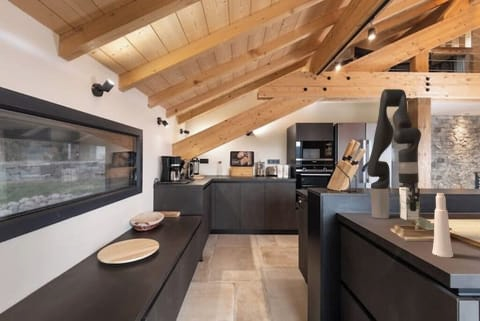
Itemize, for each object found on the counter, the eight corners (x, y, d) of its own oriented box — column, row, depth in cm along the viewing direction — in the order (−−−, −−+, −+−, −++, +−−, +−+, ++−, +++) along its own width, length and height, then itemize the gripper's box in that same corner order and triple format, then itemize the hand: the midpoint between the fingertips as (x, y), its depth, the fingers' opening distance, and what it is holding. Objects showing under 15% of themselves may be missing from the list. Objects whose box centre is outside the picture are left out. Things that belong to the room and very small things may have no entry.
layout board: (390, 230, 127) (389, 223, 127) (428, 230, 124) (428, 223, 124) (406, 240, 110) (406, 232, 110) (451, 241, 108) (451, 233, 108)
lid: (416, 224, 121) (415, 216, 121) (438, 224, 120) (438, 217, 120) (427, 230, 112) (427, 221, 112) (452, 230, 111) (451, 221, 111)
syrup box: (413, 217, 120) (411, 186, 120) (420, 220, 114) (419, 187, 114) (399, 218, 121) (398, 186, 121) (406, 220, 115) (405, 187, 115)
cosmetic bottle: (442, 251, 97) (439, 192, 97) (458, 256, 91) (455, 194, 91) (427, 252, 96) (425, 192, 96) (443, 258, 90) (440, 194, 90)
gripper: (426, 172, 110) (427, 212, 110) (409, 171, 124) (410, 206, 124) (406, 173, 111) (408, 212, 111) (392, 171, 125) (393, 206, 125)
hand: (409, 209), depth 118 cm, fingers closed on syrup box, 6 cm apart
